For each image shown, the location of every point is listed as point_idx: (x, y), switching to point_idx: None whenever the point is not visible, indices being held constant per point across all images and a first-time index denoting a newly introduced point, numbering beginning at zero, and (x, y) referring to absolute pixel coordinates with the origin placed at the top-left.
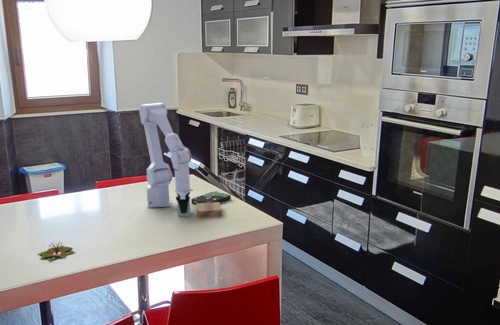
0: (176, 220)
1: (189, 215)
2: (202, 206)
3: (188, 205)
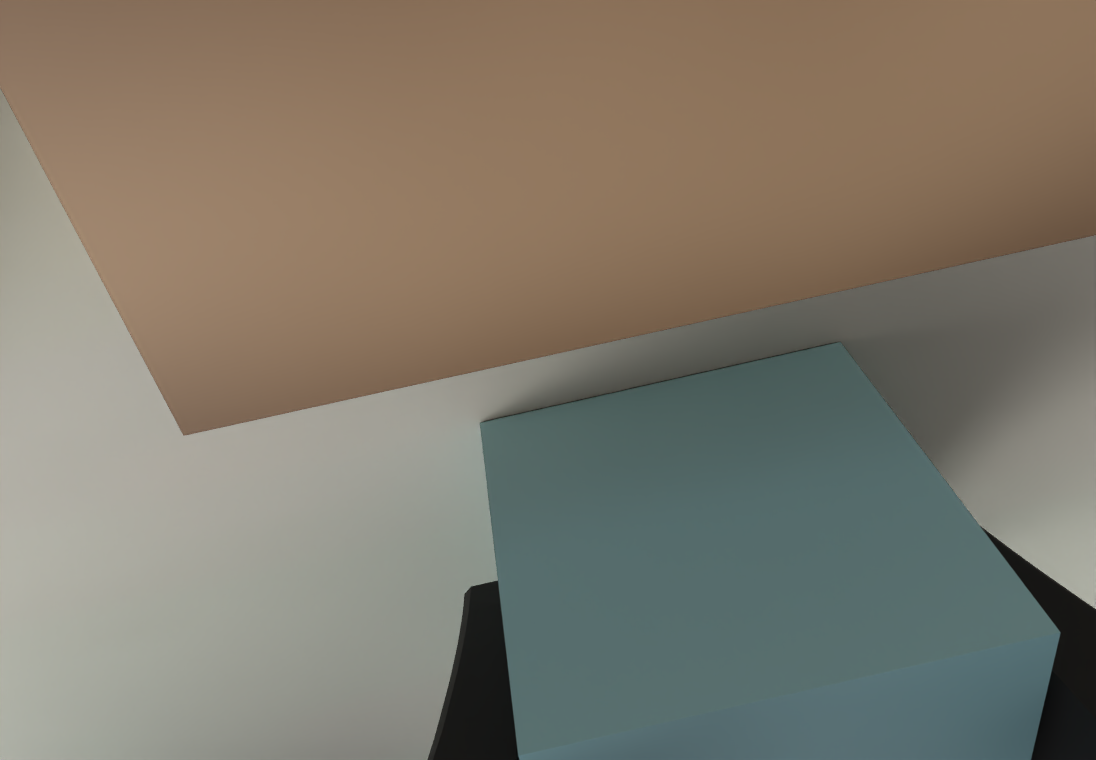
0: (1087, 548)
1: (839, 367)
2: (583, 65)
3: (1017, 620)
